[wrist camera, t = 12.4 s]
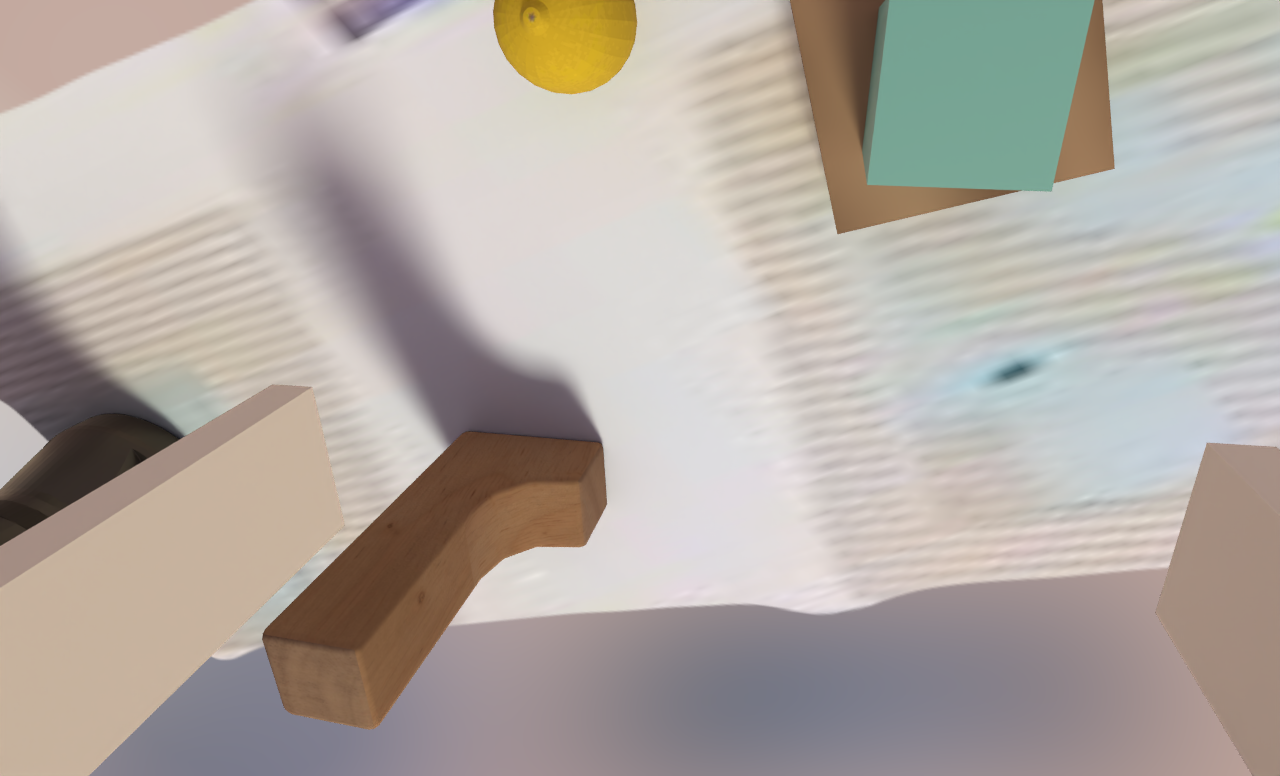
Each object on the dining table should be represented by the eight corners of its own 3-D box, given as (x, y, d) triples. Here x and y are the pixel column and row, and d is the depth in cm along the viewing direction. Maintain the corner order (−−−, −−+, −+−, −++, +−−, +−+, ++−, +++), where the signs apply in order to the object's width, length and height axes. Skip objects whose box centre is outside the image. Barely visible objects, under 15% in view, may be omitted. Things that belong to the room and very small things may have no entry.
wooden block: (604, 440, 43) (462, 668, 27) (609, 505, 45) (478, 756, 29) (463, 428, 45) (255, 633, 29) (473, 491, 47) (282, 716, 31)
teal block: (862, 151, 29) (867, 184, 22) (878, 7, 27) (890, -6, 20) (999, 154, 28) (1051, 191, 21) (1028, 5, 26) (1096, -11, 19)
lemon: (634, 106, 35) (580, 120, 28) (527, 65, 35) (448, 69, 28) (672, -21, 32) (623, -41, 25) (557, -63, 33) (477, -95, 26)
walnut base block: (838, 210, 35) (837, 234, 30) (792, -18, 32) (783, -30, 27) (1076, 152, 31) (1114, 168, 27) (1053, -112, 28) (1091, -142, 24)
